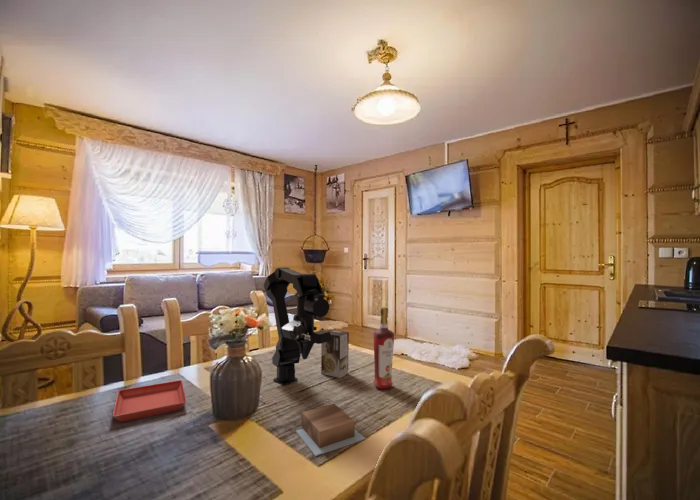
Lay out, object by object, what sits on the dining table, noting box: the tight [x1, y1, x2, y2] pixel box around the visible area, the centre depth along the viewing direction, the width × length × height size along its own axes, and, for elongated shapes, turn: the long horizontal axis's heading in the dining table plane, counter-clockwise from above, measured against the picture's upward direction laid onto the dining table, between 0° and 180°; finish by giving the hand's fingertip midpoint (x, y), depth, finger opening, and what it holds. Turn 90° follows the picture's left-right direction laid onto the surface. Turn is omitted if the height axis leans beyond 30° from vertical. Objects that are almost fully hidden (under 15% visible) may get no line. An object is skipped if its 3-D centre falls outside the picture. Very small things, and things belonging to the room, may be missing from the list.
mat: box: [295, 428, 366, 457], centre depth 86 cm, size 12×14×1 cm
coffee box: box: [320, 329, 350, 379], centre depth 129 cm, size 9×6×16 cm
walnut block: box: [301, 403, 356, 448], centre depth 87 cm, size 4×10×11 cm
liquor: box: [372, 306, 395, 390], centre depth 117 cm, size 7×7×28 cm
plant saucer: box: [112, 379, 187, 423], centre depth 101 cm, size 18×18×3 cm
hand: (304, 358), depth 109 cm, fingers closed
